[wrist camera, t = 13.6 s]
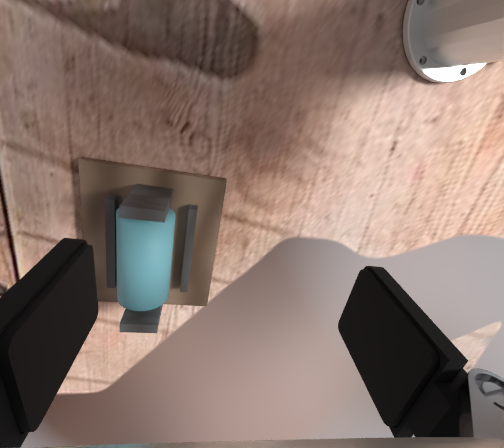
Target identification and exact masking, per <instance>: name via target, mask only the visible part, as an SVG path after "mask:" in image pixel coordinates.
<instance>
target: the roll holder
mask: <svg viewBox="0 0 504 448" xmlns="http://www.w3.org/2000/svg"><path fill="white" fill-rule="evenodd" d="M78 165H79V182H80V199H81V215H82V232H83V240H86V241H87V244H88V245H92V247H93V252H94V264H95V276H96V287H97V299H98V301H110V302H118V300H117V250H116V211H117V209H118V208H120V218H126V219H135V220H144V221H154V222H163V223H165V220H166V217H167V214H168V211H169V208H170V209H172V210H173V211H174V212H175V227H174V240H173V252H172V265H171V277H170V290H169V297H168V299H167V301H166V302H165V303H164V304H172V305H193V306H207V302H208V295H209V289H210V283H211V277H212V270H213V264H214V258H215V251H216V245H217V239H218V232H219V226H220V220H221V214H222V207H223V201H224V195H225V188H226V182H227V181H226V178H219V177H213V176H206V175H199V174H192V173H186V172H179V171H172V170H165V169H159V168H152V167H145V166H139V165H132V164H125V163H118V162H112V161H105V160H98V159H91V158H85V157H82V158H80V159H78ZM162 306H163V304H162V305H161V306H159V307H157V308H155V309H152V310H148V311H133V310H129V309H125V312H124V314H123V317H122V319H121V322H120V332H136V333H157V329H158V324H159V320H160V315H161V310H162Z"/></svg>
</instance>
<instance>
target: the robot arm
mask: <svg viewBox="0 0 504 448" xmlns="http://www.w3.org/2000/svg"><path fill="white" fill-rule="evenodd" d="M403 44H404V49H405V53H406V56H407V58H408V61H409V63H410V65H411V66H412V68H413V69H414V70H415V71H416V73H417V74H419V75H420V76H421V77H423V78H424V79H427V80H429V81H431V82H438V83H445V82H454V81H459V80H462V79H464V78H466V77H469V76H471V75H472V74H474V73H475V72H477V71H478V70H480V69H481V68H482V67H483V66H484V65H485V64H487V63H490V62H499V61H504V0H409V1H408V3H407V7H406V11H405V16H404V22H403ZM97 315H98V299H97V287H96V276H95V264H94V252H93V247H92V245H88V244H87V241H86V240H82V239H71V238H64V239H62V240H61V241H60V242H59V243H58V244H57V245H56V246H55V247H54V248H53V249H52V250H51V251H50V252H49V253H48V254H46V255H45V256H44V257H43V258H42V259H41V260H40V261H39V262H38V263H37V264H36V265H35V266H34V267H33V268H32V269H31V270H30V271H29V272H28V273H27V274H26V275H25V276H23V277H22V278H21V279H20V280H19V281H18V282H16V283H15V284H14V285H13V286H12V287H11V288H10V289H9V290H8V291H7V292H6V293H5V294H4V295H3V296H2V297H1V298H0V448H20V447H21V445H22V443H23V442H24V440H25V438H26V436H27V435H28V433H29V432H34V431H35V430H36V429H37V428H38V427H39V425H40V423H41V422H42V420H43V418H44V416H45V414H46V412H47V410H48V408H49V407H50V405H51V403H52V401H53V399H54V397H55V395H56V394H57V392H58V390H59V388H60V386H61V384H62V382H63V381H64V379H65V377H66V375H67V373H68V371H69V369H70V368H71V366H72V364H73V362H74V360H75V358H76V356H77V354H78V353H79V351H80V349H81V347H82V345H83V343H84V341H85V340H86V338H87V336H88V334H89V332H90V330H91V328H92V326H93V325H94V323H95V321H96V319H97ZM338 328H339V332H340V334H341V336H342V338H343V340H344V342H345V344H346V346H347V348H348V350H349V353H350V355H351V357H352V359H353V361H354V363H355V365H356V367H357V369H358V371H359V373H360V375H361V377H362V379H363V381H364V383H365V385H366V387H367V390H368V392H369V394H370V396H371V398H372V400H373V402H374V404H375V406H376V408H377V410H378V412H379V414H380V416H381V418H382V420H383V422H384V423H385V424H386V425H387V426H389V427H390V429H391V432H392V434H393V435H394V438H349V439H302V440H261V441H260V440H259V441H221V442H220V441H218V442H183V443H149V444H115V445H87V446H67V447H46V448H504V379H503V378H502V377H500V376H498V375H496V374H494V373H492V372H490V371H487V370H484V369H479V368H478V369H472V370H470V371H469V372H468V374H467V373H466V371H465V370H464V369H463V367H464V366H465V364H466V363H467V362H468V360H467V359H466V358H465V357H464V356H463V354H462V353H461V352H460V351H459V350H458V349H457V348H456V347H455V346H454V345H453V343H452V342H451V341H450V340H449V339H448V338H447V337H446V336H445V335H444V334H443V333H442V332H441V330H440V329H439V328H438V327H437V326H436V325H435V324H434V323H433V321H432V320H431V319H430V318H429V317H428V316H427V315H426V314H425V313H424V312H423V310H422V309H421V308H420V307H419V306H418V305H417V304H416V303H415V302H414V301H413V300H412V298H411V297H410V296H409V295H408V294H407V293H406V292H405V291H404V290H403V289H402V287H401V286H400V285H399V284H398V283H397V282H396V281H395V280H394V279H393V278H392V276H391V275H390V274H389V273H388V272H387V271H386V270H385V269H384V268H382V267H374V266H366V267H365V268H364V269H363V270H361V271H360V272H359V274H358V277H357V279H356V281H355V284H354V286H353V289H352V291H351V294H350V296H349V298H348V301H347V303H346V306H345V308H344V310H343V313H342V315H341V318H340V320H339V323H338ZM413 434H414V436H415V437H412V436H413Z"/></svg>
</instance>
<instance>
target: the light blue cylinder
mask: <svg viewBox="0 0 504 448" xmlns="http://www.w3.org/2000/svg"><path fill="white" fill-rule="evenodd" d="M174 227H175V212H174V211H173V210H172V209H170V208H169V211H168V214H167V217H166V220H165V223H163V222H154V221H144V220H135V219H126V218H120V208H118V209H117V211H116V250H117V300H118V302H119V304H120V305H121V306H123V307H124V308H126V309H129V310H133V311H148V310H152V309H155V308H157V307H159V306H161V305H162V304H164V303H165V302H166V301H167V299H168V297H169V290H170V277H171V265H172V252H173V240H174Z"/></svg>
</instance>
